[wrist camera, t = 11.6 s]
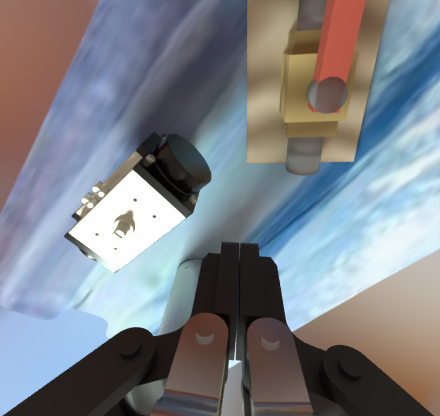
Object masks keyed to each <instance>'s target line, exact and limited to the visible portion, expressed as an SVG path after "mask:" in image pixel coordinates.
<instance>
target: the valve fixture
mask: <svg viewBox="0 0 440 416" xmlns="http://www.w3.org/2000/svg"><path fill="white" fill-rule="evenodd" d="M388 2H389V0H366V3H365V7H364V11H363V15H362V19H361V23H360V27H359V32H358V36H357V40H356V44H355V48H354V52H353V57H352V61H351V65H350V69H349V73H348V77H347V82H346V85H347V88H348V96H347V99H346V101H345V103H344V105H343V106H342V107H341V108H340V111H339V113H329V114H323V113H320V112H312V111H311V110H310V109H309V108H308V104H309V102H308V100H307V96H306V93H307V88H308V86H309V84H310V82H311V81H312V80H313V76H314V70H315V65H316V59H317V54H318V48H319V43H320V37H321V32H322V26H323V20H324V15H325V9H326V4H327V0H247V163H286V170H287V171H288V172H290V173H293V174H297V175H312V174H315V173H317V172H318V171H319V167H320V162H354V157H355V153H356V148H357V144H358V139H359V135H360V130H361V125H362V121H363V116H364V112H365V107H366V103H367V98H368V93H369V89H370V84H371V80H372V75H373V71H374V66H375V61H376V57H377V52H378V48H379V43H380V39H381V34H382V29H383V25H384V20H385V16H386V11H387V7H388Z"/></svg>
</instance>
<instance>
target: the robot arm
mask: <svg viewBox="0 0 440 416" xmlns="http://www.w3.org/2000/svg"><path fill="white" fill-rule="evenodd" d="M236 330H237V333H236ZM235 341H236V360H240V361H242V381H241V393H242V407H243V416H433V415H432V414H431V413H430V412H429V411H428V410H427V409H425V408H424V407H423V406H422V405H421V404H420V403H419V402H417V401H416V400H415V399H414V398H413V397H412V396H410V395H409V394H408V393H407V392H406V391H405V390H404V389H402V388H401V387H400V386H399V385H398V384H397V383H396V382H394V381H393V380H392V379H391V378H390V377H389V376H388V375H386V374H385V373H384V372H383V371H382V370H381V369H379V368H378V367H377V366H376V365H375V364H374V363H372V362H371V361H370V360H369V359H368V358H367V357H366V356H365V355H363V354H362V353H361V352H359V351H358V350H356V349H354V348H351V347H349V346H344V345H335V346H332V347H330V348H328V350H326V351H324V350H322V349H319V348H316V347H314V346H311V345H309V344H307V343H304V342H303V341H301V340H300V339H298V338H297V337H296V336H295V335H294V334H293V333H292V332H291V330H290V329H289V327H288V325H287V323H286V318H285V312H284V306H283V299H282V293H281V287H280V281H279V275H278V268H277V265H276V264H275V263H274V261H273V260H272V258H271V257H261V256H259V247H258V244H253V243H241V244H240V256H239V243H236V242H222V245H221V254H215V253H208V254H207V255H206V257H205V258H204V259H203V260H200V259H192V260H188V261H186V262H183V263H182V264H181V265H180V266H179V267H178V269H177V272H176V275H175V279H174V282H173V285H172V288H171V292H170V295H169V298H168V302H167V305H166V308H165V312H164V315H163V318H162V322H161V325H160V328H159V332H158V335H157V336H153V335H152V334H151V332H149V331H148V330H146V329H144V328H140V327H133V328H128V329H125V330H123V331H121V332H119V333H118V334H116V335H115V336H114V337H112V338H111V339H109V340H108V341H107V342H105V343H104V344H102V345H101V346H100V347H98V348H97V349H95V350H94V351H93V352H91V353H90V354H88V355H87V356H86V357H84V358H83V359H81V360H80V361H79V362H77V363H76V364H74V365H73V366H72V367H70V368H69V369H67V370H66V371H65V372H63V373H62V374H60V375H59V376H58V377H56V378H55V379H54V380H52V381H51V382H49V383H48V384H47V385H45V386H44V387H42V388H41V389H39V390H38V391H37V392H35V393H34V394H32V395H31V396H30V397H28V398H27V399H25V400H24V401H23V402H21V403H20V404H18V405H17V406H16V407H14V408H13V409H11V410H10V411H9V412H7V413H6V414H4V415H3V416H221V413H222V405H223V397H224V390H225V384H226V381H227V377H228V364H229V360H234V353H235Z"/></svg>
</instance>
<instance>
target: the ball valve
mask: <svg viewBox="0 0 440 416" xmlns="http://www.w3.org/2000/svg"><path fill="white" fill-rule="evenodd" d="M210 181H211V172H210V169H209V166H208V164H207V163H206V161H205V159H204V158H203V156H202V155H201V154H200V153H199V151H198V150H197V149H196V148H195V147H194V146H193V145H192V144H191V143H190V142H188V141H187V140H186V139H184V138H183V137H181V136H179V135H177V134H169V135H167V136H166V135H165V134H163V135H162V136H161V137H159V136H158V135H157V134H156V133H155V132H154V133H152V134H151V135H150V136H149V137H148V138H147V139H146V140H145V141H144V142H143V143H142V144H141V145H140V146H139V147H138V148H137V149H136V150H135V151H134V152H133V153H132V154H131V155H130V156H129V157H128V158H127V160H126V161H125V162H124V163H123V164H122V165H121V166H120V167H119V168H118V169H117V170H116V171H115V172H114V173H113V174H112V175H111V176H110V177H109V178H108V179H107V180H106V181H105V182H104V183H102V182H101V181H99V182H98V183H97V184H96V185H95V186H94V187H93V188H92V190H93V191H94V193H93V194H91V193H88V194H87V195H86V196H85V197H84V198H83V199H82V200H81V201H82V202H83V203H84V204H83V205H82V206H81V207H80V208H79V209H78V210H77V211H76V212H75V213H74V214H73V215H72V217H73V218H74V219H75V220H77V223H76V224H75V225H74V226H73V227H72V228H71V229H70V230H69V231H68V232H67V233H66V234H65V235H64V237H65V238H66V239H68V240H69V241H71V242H72V243H73V244H75V245H76V246H77V247H78V248H79V249H80V251H81V252H82V253H83V254H84V255H86V256H87V257H89V258H90V259H93V260H95V261H98V262H100V263H101V264H102V265H104V266H105V267H107V268H108V269H109V270H111V271H112V272H114V273H115V272H117V271H118V270H119V269H121V268H122V267H123V266H125V265H126V264H127V263H128V262H130V261H131V260H132V259H134V258H135V257H136V256H138V255H139V254H140V253H141V252H143V251H144V250H145V249H147V248H148V247H149V246H151V245H152V244H153V243H155V242H156V241H157V240H158V239H160V238H161V237H162V236H164V235H165V234H166V233H168V232H169V231H170V230H171V229H173V228H174V227H175V226H177V225H178V224H179V223H181V222H182V221H183V220H185V219H186V218H187V217H188V216H190V215H191V214H192V213H193V211H194V208H195V205H196V202H197V198H198V195H199V192H200V190H201V189H202V188H203V187H204V186H206V185H207V184H208V183H209V182H210Z"/></svg>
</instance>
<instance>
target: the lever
mask: <svg viewBox="0 0 440 416" xmlns="http://www.w3.org/2000/svg"><path fill="white" fill-rule="evenodd" d="M365 3H366V0H327V4H326V9H325V15H324V20H323V26H322V32H321V37H320V43H319V48H318V54H317V59H316V65H315V70H314V76H313V80H312V81H311V82H310V84H309V86H308V88H307V93H306V96H307V100H308V102H309V104H308V108H309V109H310V110H311V111H312V112H320V113H323V114H329V113H339V111H340V108H341V107H342V106H343V105H344V103H345V101H346V99H347V96H348V88H347V85H346V82H347V77H348V73H349V69H350V65H351V61H352V57H353V52H354V48H355V44H356V40H357V36H358V32H359V27H360V23H361V19H362V15H363V11H364V7H365Z"/></svg>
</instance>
